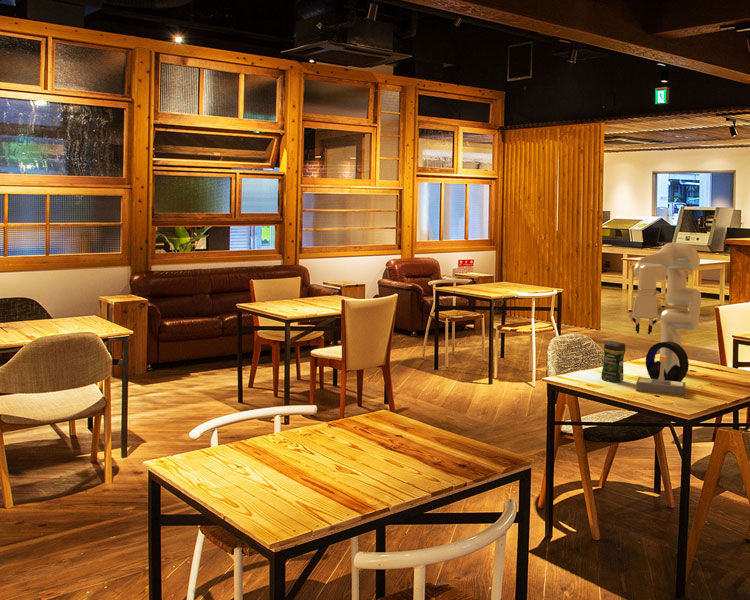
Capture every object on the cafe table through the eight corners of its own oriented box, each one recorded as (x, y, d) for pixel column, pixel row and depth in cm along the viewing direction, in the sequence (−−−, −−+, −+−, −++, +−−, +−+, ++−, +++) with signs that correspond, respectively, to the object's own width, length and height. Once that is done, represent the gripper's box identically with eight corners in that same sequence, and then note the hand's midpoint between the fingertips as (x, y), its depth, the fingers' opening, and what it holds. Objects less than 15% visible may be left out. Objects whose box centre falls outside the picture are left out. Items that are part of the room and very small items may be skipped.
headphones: (687, 388, 352) (691, 345, 349) (679, 390, 348) (683, 346, 345) (651, 380, 366) (654, 338, 363) (643, 381, 362) (646, 339, 359)
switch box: (638, 385, 354) (639, 372, 353) (685, 391, 346) (686, 377, 345) (635, 390, 344) (636, 377, 343) (684, 396, 336) (685, 382, 335)
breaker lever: (658, 380, 346) (660, 355, 344) (664, 381, 345) (666, 355, 344) (658, 381, 343) (660, 356, 342) (663, 382, 342) (665, 357, 341)
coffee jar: (598, 379, 363) (601, 340, 361) (607, 377, 369) (610, 339, 366) (616, 383, 356) (619, 344, 354) (625, 381, 362) (628, 342, 359)
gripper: (667, 293, 343) (663, 334, 345) (627, 290, 349) (624, 330, 352) (666, 295, 336) (662, 336, 338) (625, 292, 342) (622, 333, 345)
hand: (643, 333), depth 345 cm, fingers open, 4 cm apart
